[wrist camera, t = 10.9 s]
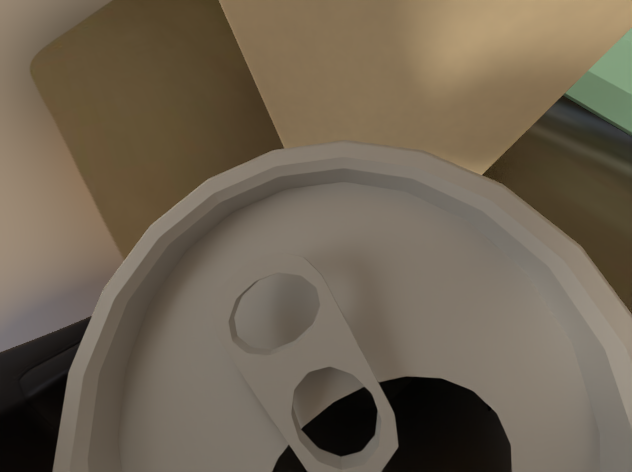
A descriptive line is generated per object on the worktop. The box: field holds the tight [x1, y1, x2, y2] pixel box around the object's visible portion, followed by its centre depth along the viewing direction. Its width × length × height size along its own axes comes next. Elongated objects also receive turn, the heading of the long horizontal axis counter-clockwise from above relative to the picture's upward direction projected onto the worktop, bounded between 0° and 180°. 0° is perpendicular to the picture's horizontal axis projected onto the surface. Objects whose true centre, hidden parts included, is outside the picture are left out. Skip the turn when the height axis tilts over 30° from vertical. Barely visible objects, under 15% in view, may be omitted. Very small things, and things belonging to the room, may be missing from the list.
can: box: [53, 140, 632, 472], centre depth 8 cm, size 8×8×12 cm
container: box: [563, 28, 632, 136], centre depth 18 cm, size 6×6×25 cm
